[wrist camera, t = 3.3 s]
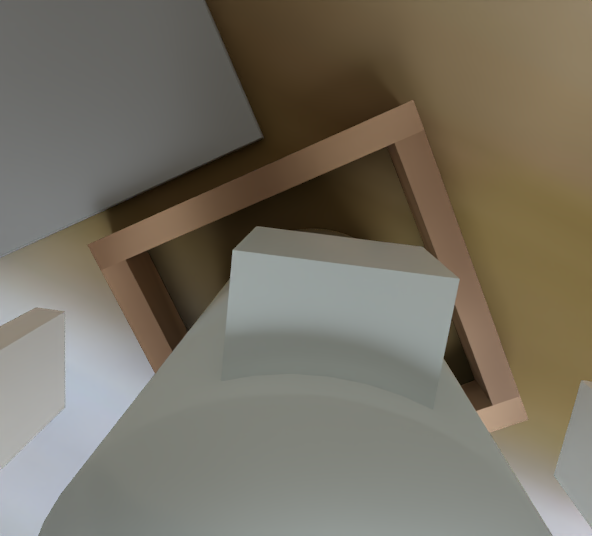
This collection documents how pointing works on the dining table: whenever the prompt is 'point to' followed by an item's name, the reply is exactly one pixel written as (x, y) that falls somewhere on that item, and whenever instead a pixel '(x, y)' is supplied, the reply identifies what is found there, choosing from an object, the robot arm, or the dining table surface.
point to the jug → (305, 411)
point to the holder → (293, 171)
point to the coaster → (108, 106)
